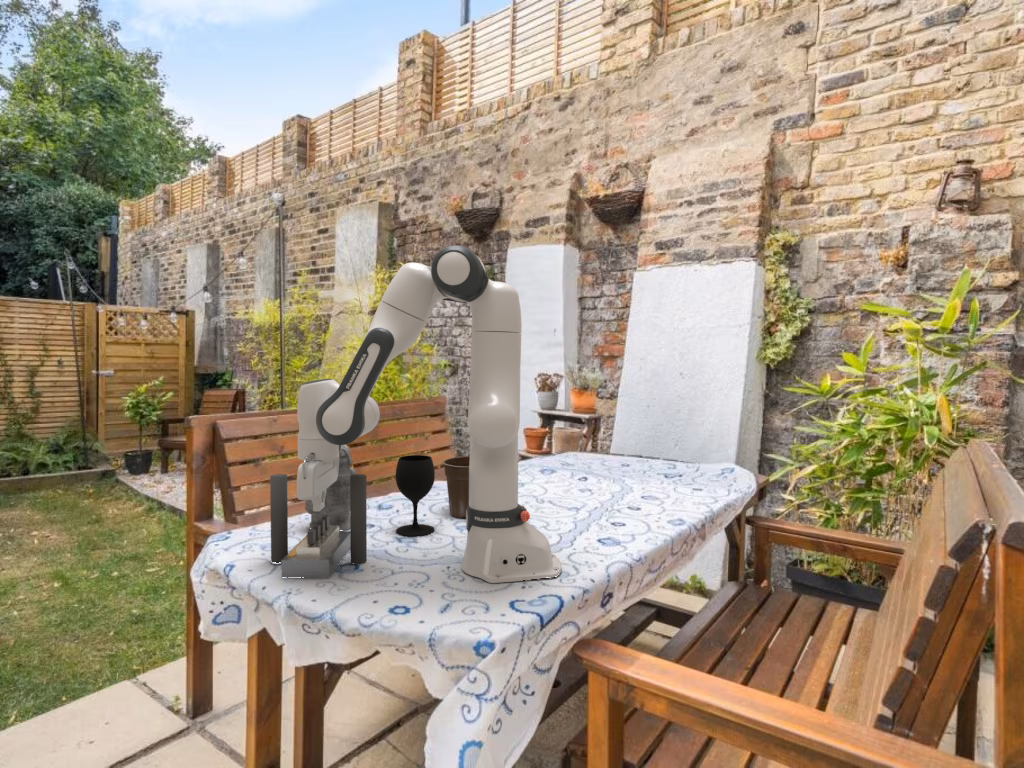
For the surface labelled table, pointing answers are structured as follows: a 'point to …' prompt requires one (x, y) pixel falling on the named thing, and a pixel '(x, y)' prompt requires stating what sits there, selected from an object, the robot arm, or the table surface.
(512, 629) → the table surface
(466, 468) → the plant pot
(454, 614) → the table surface
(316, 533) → the breaker paddles
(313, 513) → the figurine
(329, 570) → the breaker panel
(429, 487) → the wine glass
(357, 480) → the disc
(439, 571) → the table surface
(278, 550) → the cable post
